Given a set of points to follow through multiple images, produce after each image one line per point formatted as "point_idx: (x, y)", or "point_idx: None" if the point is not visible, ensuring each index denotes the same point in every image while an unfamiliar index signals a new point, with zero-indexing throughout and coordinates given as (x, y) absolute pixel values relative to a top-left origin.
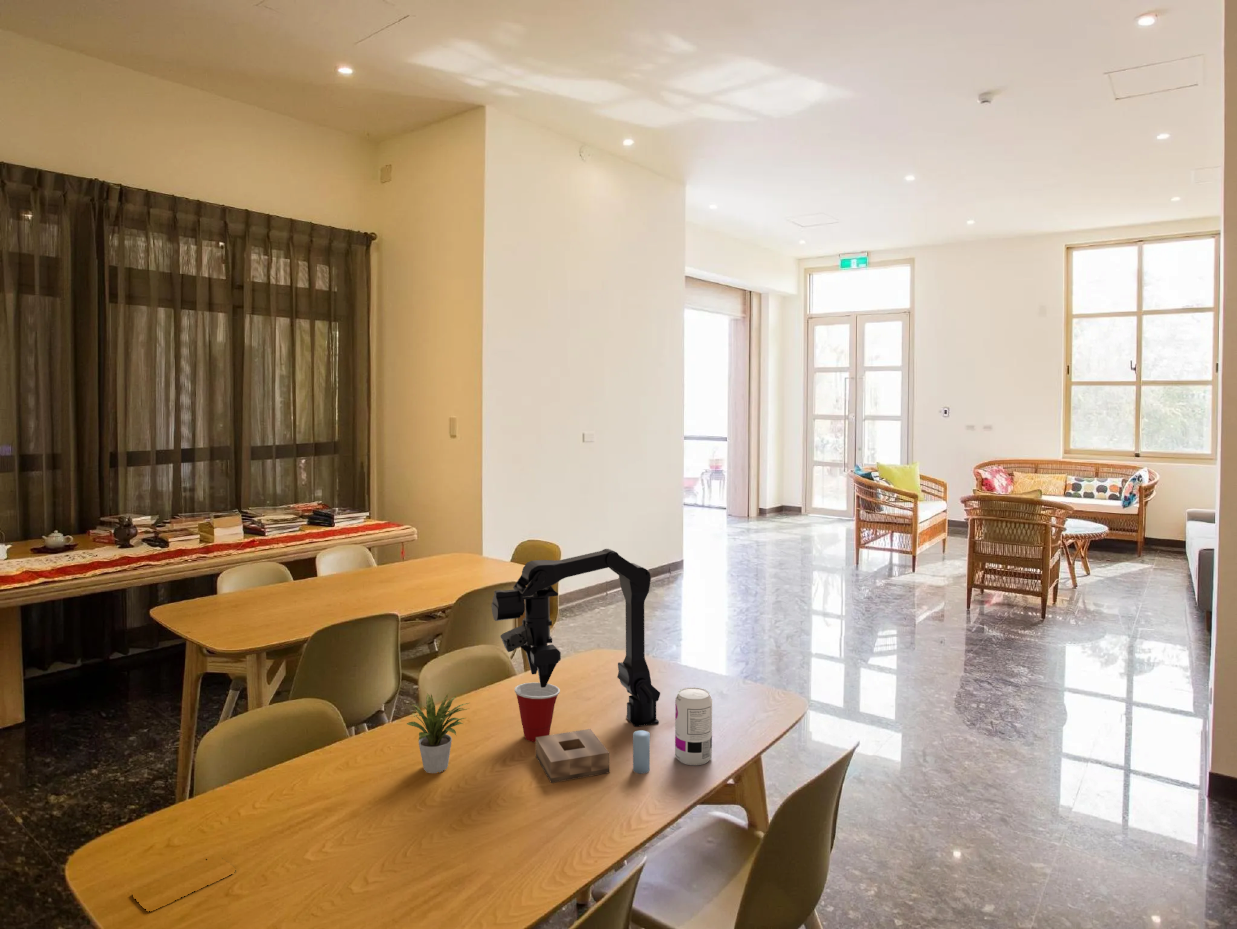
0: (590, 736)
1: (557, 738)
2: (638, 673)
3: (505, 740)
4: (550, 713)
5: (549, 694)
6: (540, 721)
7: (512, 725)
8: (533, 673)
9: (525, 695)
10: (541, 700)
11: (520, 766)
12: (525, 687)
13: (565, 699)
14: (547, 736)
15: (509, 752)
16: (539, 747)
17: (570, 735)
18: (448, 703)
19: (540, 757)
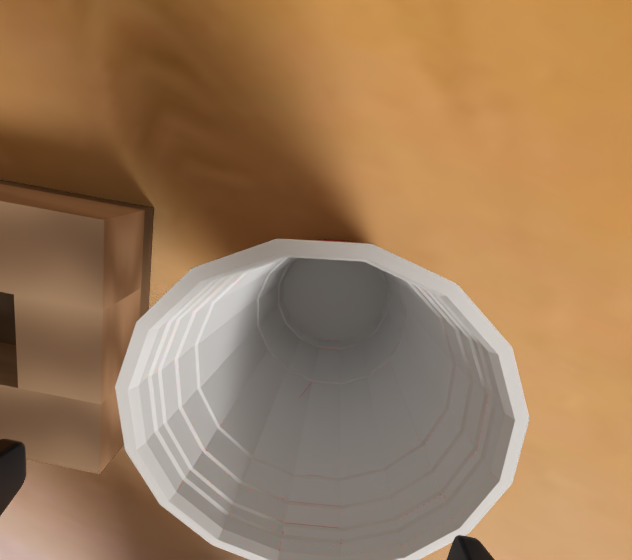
0: (23, 437)
1: (52, 308)
2: None
3: (375, 150)
4: (237, 389)
5: (365, 488)
6: (237, 314)
7: (518, 248)
8: (454, 553)
9: (189, 282)
10: (148, 375)
11: (90, 107)
12: (489, 391)
13: (626, 557)
14: (90, 276)
15: (242, 116)
16: (40, 202)
17: (64, 373)
18: None
19: (53, 195)
